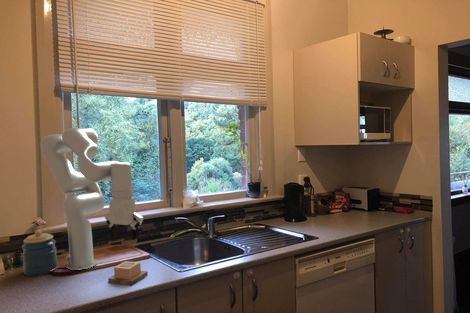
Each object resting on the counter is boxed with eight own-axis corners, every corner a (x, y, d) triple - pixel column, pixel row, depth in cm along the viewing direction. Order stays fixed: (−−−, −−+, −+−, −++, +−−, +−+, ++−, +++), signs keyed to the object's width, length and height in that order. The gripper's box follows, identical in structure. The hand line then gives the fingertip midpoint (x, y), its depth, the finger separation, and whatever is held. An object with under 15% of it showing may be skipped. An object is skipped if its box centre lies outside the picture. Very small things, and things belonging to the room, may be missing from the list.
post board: (108, 282, 141) (107, 268, 141) (124, 272, 150) (123, 259, 150) (132, 285, 137) (131, 270, 137) (147, 275, 146) (146, 261, 146)
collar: (114, 277, 142) (114, 267, 141) (126, 270, 148) (125, 261, 148) (129, 279, 139) (129, 268, 139) (140, 272, 146) (140, 262, 145)
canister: (63, 264, 164) (60, 225, 163) (49, 275, 151) (46, 233, 150) (33, 266, 164) (30, 227, 162) (17, 277, 151) (13, 235, 150)
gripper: (97, 195, 141) (100, 239, 142) (135, 197, 135) (137, 242, 136) (110, 192, 148) (113, 233, 149) (146, 193, 142) (149, 236, 143)
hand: (124, 237), depth 143 cm, fingers open, 9 cm apart
